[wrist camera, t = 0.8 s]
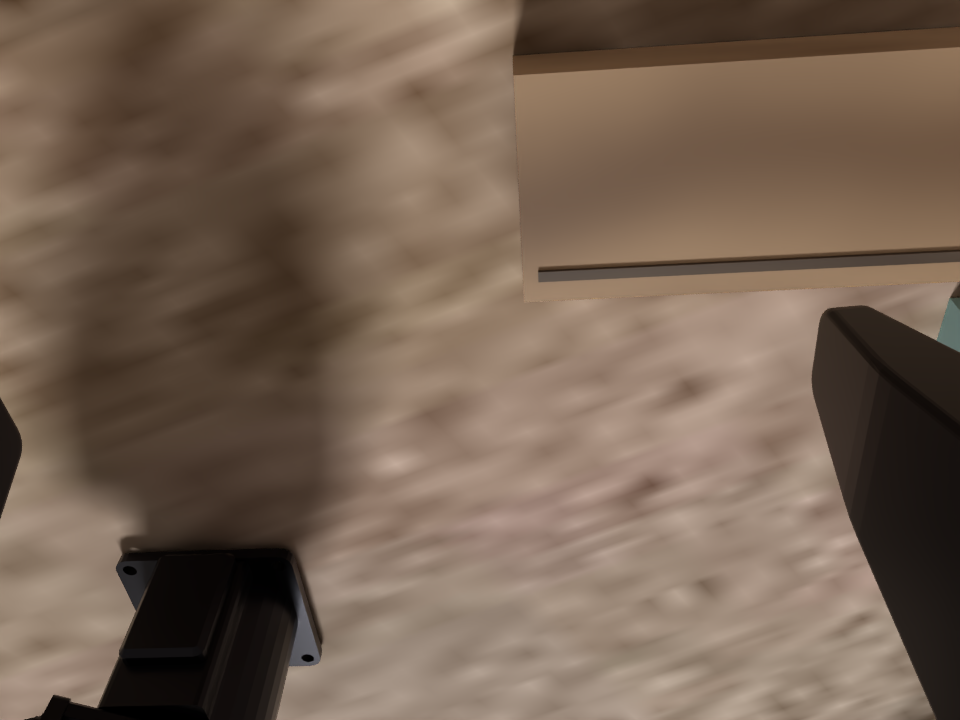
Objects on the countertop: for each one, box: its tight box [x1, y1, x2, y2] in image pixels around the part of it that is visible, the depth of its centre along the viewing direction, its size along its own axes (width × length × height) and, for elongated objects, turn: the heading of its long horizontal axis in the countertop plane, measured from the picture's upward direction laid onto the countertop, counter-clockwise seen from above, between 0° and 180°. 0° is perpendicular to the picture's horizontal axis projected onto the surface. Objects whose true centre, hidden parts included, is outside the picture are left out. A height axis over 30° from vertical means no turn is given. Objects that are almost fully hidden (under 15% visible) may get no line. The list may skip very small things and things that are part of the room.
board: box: [513, 27, 960, 302], centre depth 21 cm, size 6×18×2 cm, turn 94°
